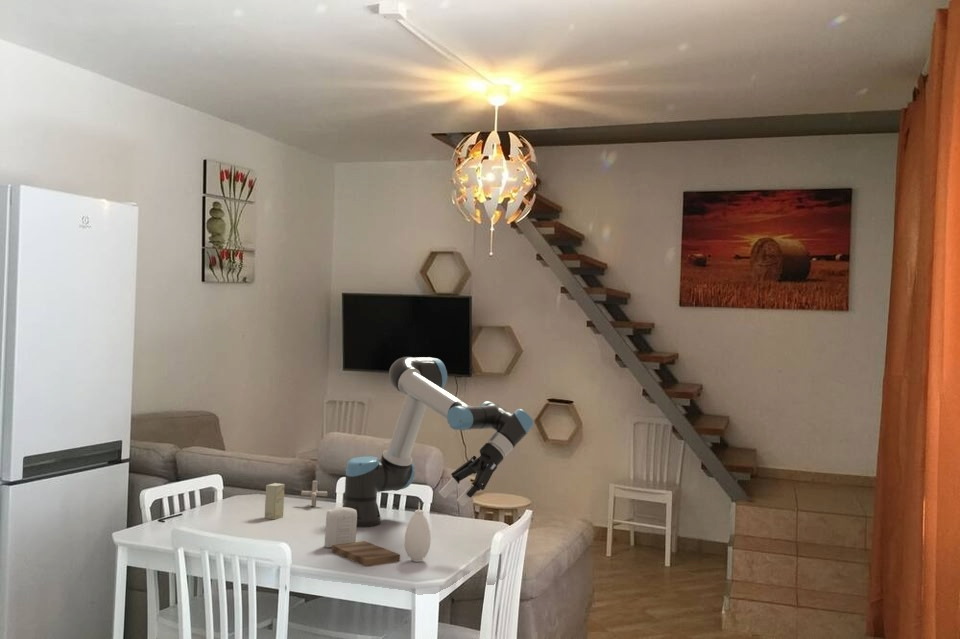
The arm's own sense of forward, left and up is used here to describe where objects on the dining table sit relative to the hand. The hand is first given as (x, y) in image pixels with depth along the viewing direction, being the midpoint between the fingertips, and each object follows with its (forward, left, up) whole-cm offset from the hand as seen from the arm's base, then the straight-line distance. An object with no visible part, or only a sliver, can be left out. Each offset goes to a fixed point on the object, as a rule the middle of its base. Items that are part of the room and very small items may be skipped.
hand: (450, 499), depth 263 cm
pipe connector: (-92, +4, -19) cm, 94 cm away
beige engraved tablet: (-31, -20, -19) cm, 41 cm away
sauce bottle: (-3, -10, -19) cm, 21 cm away
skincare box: (-80, -19, -19) cm, 84 cm away
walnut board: (-16, -20, -18) cm, 31 cm away
